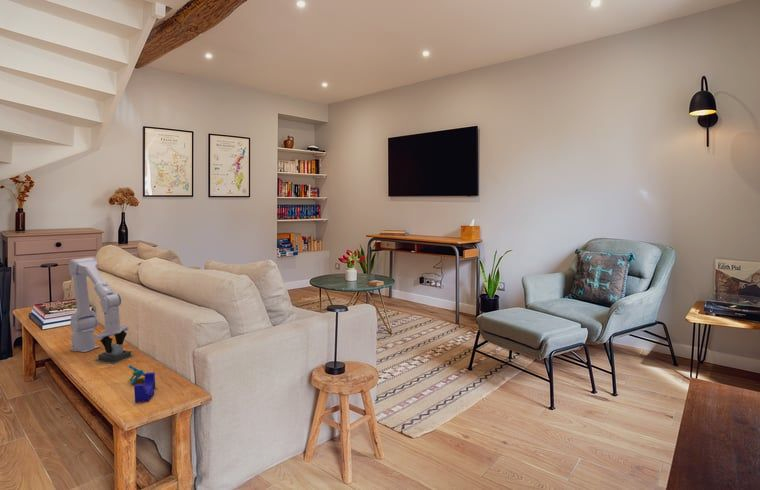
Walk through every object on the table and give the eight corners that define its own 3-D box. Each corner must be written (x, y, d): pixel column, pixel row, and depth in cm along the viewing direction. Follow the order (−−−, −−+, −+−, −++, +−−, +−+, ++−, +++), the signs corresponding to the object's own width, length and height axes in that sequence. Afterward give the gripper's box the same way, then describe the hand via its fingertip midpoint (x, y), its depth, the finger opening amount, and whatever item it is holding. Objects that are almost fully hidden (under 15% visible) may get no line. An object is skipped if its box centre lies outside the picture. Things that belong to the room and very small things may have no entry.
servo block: (105, 358, 198) (104, 345, 197) (113, 354, 202) (112, 342, 201) (115, 359, 196) (114, 346, 196) (123, 356, 200) (122, 343, 199)
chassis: (95, 360, 196) (95, 355, 196) (115, 353, 206) (114, 347, 205) (114, 363, 193) (114, 358, 192) (133, 355, 202) (133, 350, 202)
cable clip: (148, 401, 158) (147, 385, 157) (135, 402, 157) (134, 386, 157) (159, 387, 170) (158, 372, 169) (147, 387, 169) (146, 372, 169)
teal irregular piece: (156, 378, 173) (134, 365, 168) (146, 392, 170) (123, 379, 165) (148, 374, 181) (127, 361, 176) (138, 387, 179) (116, 375, 174)
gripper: (104, 326, 189) (106, 357, 191) (132, 317, 203) (134, 346, 204) (91, 324, 191) (94, 355, 193) (121, 316, 205) (123, 344, 206)
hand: (114, 350), depth 199 cm, fingers open, 5 cm apart
